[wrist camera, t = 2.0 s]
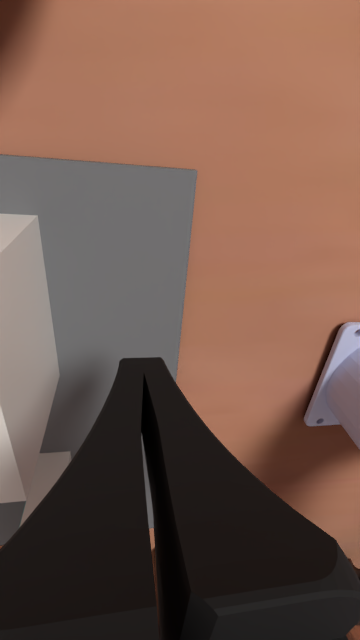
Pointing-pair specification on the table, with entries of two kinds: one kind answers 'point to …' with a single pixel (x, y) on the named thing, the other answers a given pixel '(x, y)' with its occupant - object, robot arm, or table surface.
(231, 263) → the table surface
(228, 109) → the table surface
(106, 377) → the mat
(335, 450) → the table surface
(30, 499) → the tile
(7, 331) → the tile
